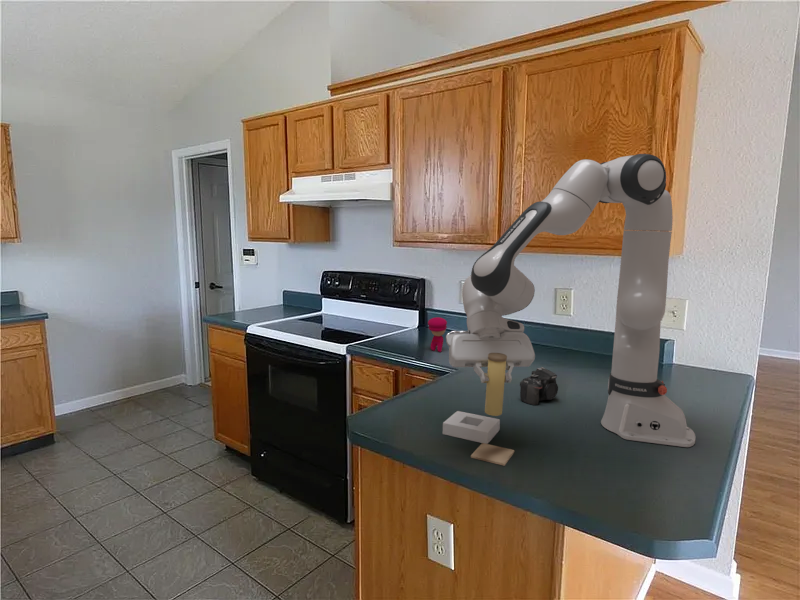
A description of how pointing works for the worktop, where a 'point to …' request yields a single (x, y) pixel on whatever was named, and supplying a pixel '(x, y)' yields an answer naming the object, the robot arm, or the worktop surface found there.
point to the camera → (538, 386)
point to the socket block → (471, 427)
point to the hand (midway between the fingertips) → (496, 381)
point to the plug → (495, 383)
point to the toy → (437, 332)
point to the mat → (492, 454)
